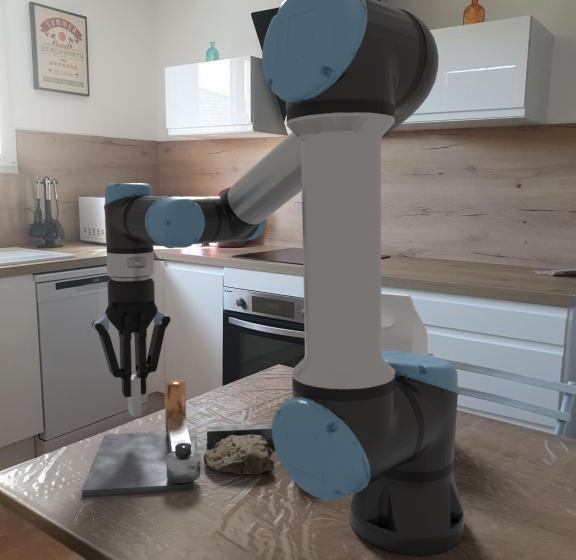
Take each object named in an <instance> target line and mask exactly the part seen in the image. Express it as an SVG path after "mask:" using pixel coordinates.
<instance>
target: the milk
mask: <svg viewBox="0 0 576 560" xmlns="http://www.w3.org/2000/svg"><path fill="white" fill-rule="evenodd" d="M428 340H429V339H428V330H427V328H426V325H425V323H423V320H422V318H421V316H420V315H419V313H418V311H417V310H416V307H415V305H414V301H413V299H412V296H411V294H405V293H404V294H403V293H391V292H383V291H381V347H382V351H401V352H410V353H417V354H423V355H428V353H429V352H428V348H429V347H428V342H429V341H428ZM428 356H429V355H428Z"/></svg>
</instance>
